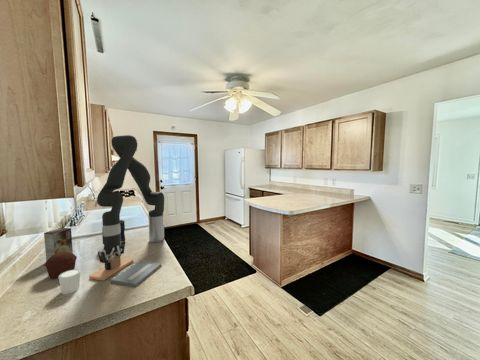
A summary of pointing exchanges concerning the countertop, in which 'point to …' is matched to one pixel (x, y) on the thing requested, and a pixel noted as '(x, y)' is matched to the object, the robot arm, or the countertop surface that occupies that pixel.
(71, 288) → the shot glass
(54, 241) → the coffee box
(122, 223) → the storage jar
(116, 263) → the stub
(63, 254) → the muffin
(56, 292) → the countertop surface
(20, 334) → the countertop surface
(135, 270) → the board
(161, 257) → the countertop surface
